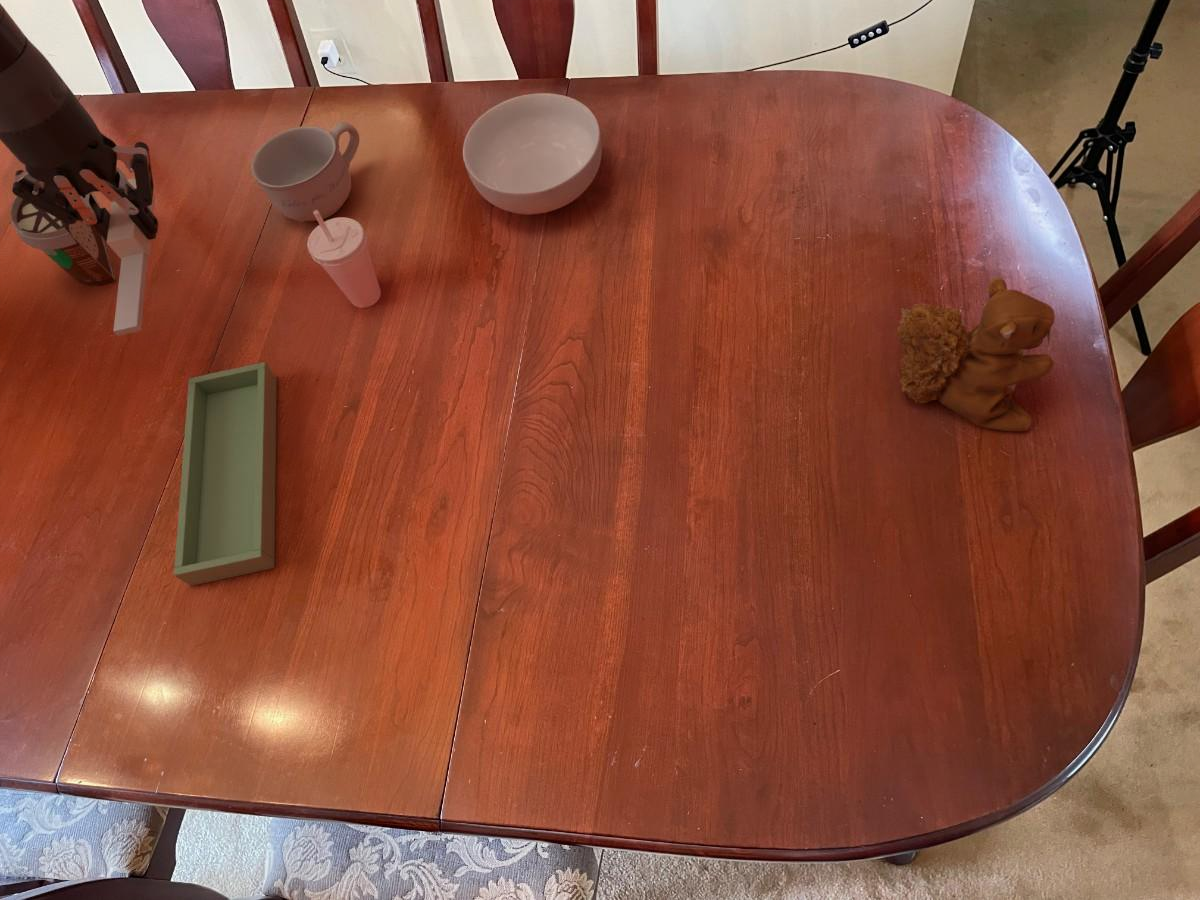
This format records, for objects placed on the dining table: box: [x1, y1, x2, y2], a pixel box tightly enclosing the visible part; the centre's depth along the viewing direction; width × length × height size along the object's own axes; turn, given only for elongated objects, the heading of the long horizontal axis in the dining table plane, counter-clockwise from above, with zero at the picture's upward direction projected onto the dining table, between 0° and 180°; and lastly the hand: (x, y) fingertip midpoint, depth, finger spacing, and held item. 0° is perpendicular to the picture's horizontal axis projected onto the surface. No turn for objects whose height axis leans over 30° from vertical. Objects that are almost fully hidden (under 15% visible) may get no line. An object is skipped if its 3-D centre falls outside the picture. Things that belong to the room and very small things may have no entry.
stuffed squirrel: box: [896, 277, 1056, 433], centre depth 80 cm, size 10×14×13 cm
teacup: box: [250, 121, 360, 222], centre depth 106 cm, size 14×11×8 cm
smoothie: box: [306, 210, 382, 309], centre depth 94 cm, size 6×6×14 cm
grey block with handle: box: [106, 177, 156, 337], centre depth 87 cm, size 19×3×3 cm, turn 12°
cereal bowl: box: [462, 92, 603, 215], centre depth 103 cm, size 17×17×7 cm
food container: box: [9, 186, 116, 286], centre depth 104 cm, size 12×6×10 cm, turn 27°
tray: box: [173, 361, 278, 587], centre depth 89 cm, size 24×9×3 cm, turn 10°
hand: (136, 236), depth 90 cm, fingers closed on grey block with handle, 3 cm apart
